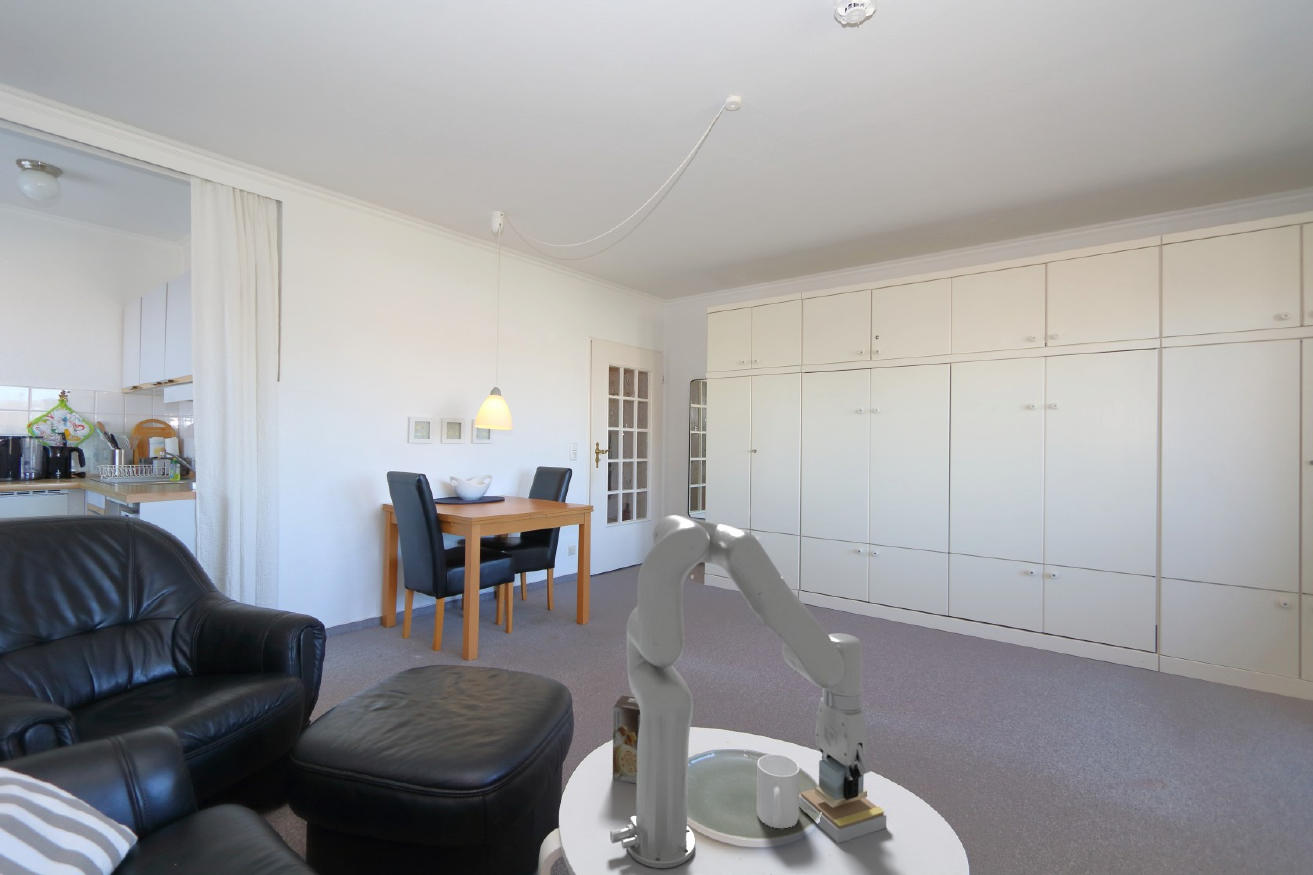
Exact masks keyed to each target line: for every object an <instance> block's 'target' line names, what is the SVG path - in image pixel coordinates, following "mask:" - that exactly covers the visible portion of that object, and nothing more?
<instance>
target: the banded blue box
mask: <svg viewBox="0 0 1313 875" xmlns="http://www.w3.org/2000/svg"><path fill="white" fill-rule="evenodd" d="M850 766H851V771H853V770H854V765H850ZM818 769H819V770H818V786H816V787H814V789H815V794H816V795H817V796H819V797H820V798H821V799H822V800H823V801H825V802H826V803H827V804H828V805H830V806H831V807H832V808H833V807H836V806H839V805H843V804H846V803H849V802H852V801H856V800H859V799H862V798H867V797H868V790H867V789H865V788H864V784H865V783H864V782H865V781H864V780H865V779H864V776H865V774H864V775H863V776H861V778H859V788H858V797H855V798H852V799H848V800H846V799H845V798H844V778H846V771H845V765H843V764H841V763H840V762H838V761H837V760H836V759H834V758H833V757H830V758H827V759H823V760H822V759H819V761H818Z"/></svg>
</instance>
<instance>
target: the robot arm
mask: <svg viewBox="0 0 1313 875" xmlns="http://www.w3.org/2000/svg"><path fill="white" fill-rule="evenodd" d="M652 533H653V534H652V539H653V543H654V545H653V546H652V548H651V549H650V550H649V552H648V553H647V555H646V556H645V558H644V560H643V561H642V564H641V566H640V568H639V573H638V578H637V603H636V604H637V605H636V607H635V608H633V610H632V611H631V613H630V614H629V617H628V619H627V624H626V630H625V632H626V656H627V657H626V659H627V675H628V676H627V677H628V684H629V689H630V691H631V693H632V695H633V697H635V699H636V702H637V704H638V706H639V709H640V727H639V733H638V742H637V783H636V789H635V790H636V798H635V815H633V816H631V817H630V824H626V825H625V827H623V828H617V829H613V830H610V832H609V838H610V842H611V844H616V843H619V842H621V847H622V848H621V849H622V850H625V849H627V850H628V853H629V854H630V856H631V857H632V858H633V859H634V860H636V861H637V862H638V863H640V864H641V865H645V866H647V867H650V868H654V869H667V868H668V869H669V868H674V867H676V866H680V865H682V864H684V863H686V862H687V861H688V860H689V859H690V858H691V857H692V856H693V854H694V852H695V849H696V838H695V834H694V832H693V830H692V829H690V827H689V826H688V801H689V800H688V792H689V791H688V790H689V785H688V784H689V742H690V740H689V739H690V730H691V725H692V724H691V723H692V718H693V712H694V702H693V697H692V693H691V690H690V688H689V686H688V684H687V683H686V681H685V680H684V678H683V677H682V676H681V674H680V673H679V671H678V670H676V668H675V666H674V664H676V663H677V662H679V660H680V659H681V658H682V655H683V653H684V650H685V644H686V637H685V636H686V635H685V624H684V622H685V621H684V619H685V618H684V603H683V602H684V585H685V581H686V579H687V577H688V575H689V574H690V572H691V571H692V570H693V569H694V568H695V567H696V566H697V565H699V564H700V563H705V564H712V565H716V566H719V567H721V568H723V569H724V570H725V572H726V573H727V575H728V577H729V578H730V579H731V581H732V582H733V584H734V585H735V587H736V588H737V589H738V590H739V592H740V595H741V596H742V597H743V598H744V600H745V601H746V604H748V606H749V608H750V609H751V610H752V611H753V613H754V614H755V615H756V616H757V618H758V619H759V620H760V621H761V622H762V623H763V624H764V625H766V626H767V627H768V628H769V629H770V630H771V631H772V632H773V633H774V634H775V635H777V636H778V637H779V638H780V639H781V640H782V642H783V644H782V648H781V652H782V657H783V658H784V661H785V662H786V664H787V665H789V667H790V668H792V669H793V670H794V671H795V672H797V673H798V674H799V675H801V676H802V677H804V678H805V679H806V680H808V681H809V682H810V683H812V684H813V685H814V686H816V687H818V688H821V689H822V697H820V700H819V703H818V707H817V716H816V725H815V726H816V727H815V734H814V737H815V743H816V745H817V746H818V748H819V751H820V753H821V760H823V759H827V758H830V757H833V758H834V759H836V760H837V761H838V762H840V763H841V764H843V765H845V771H846V778H844V798H845V799H846V800H848V799H852V798H855V797H858V788H859V778H861V776H863V775H864V776H865V775H866V774H868V773H870V772H871V771H872V770H871V767H870V765H869V762H868V760H867V759H868V758H867V757H866V754H867V738H866V736H867V733H866V725H865V723H866V722H865V715H864V711H863V710H862V704H863V702H862V701H863V692H862V690H863V645H862V641H861V640H860V639H859V638H858V637H856V636H854V635H852V634H848V633H841V632H837V633H836V632H835V633H830V634H828V632H827V631H826V630H825V628H824V627H823V626H822V625H821V623H820V621H818V620H817V618H816V617H815V616H814V615H813V614H812V613H811V612H810V610H809V609H808V608H807V607H806V606H805V605H804V603H803V602H802V600H801V599H800V598H799V597H798V596H797V595H796V594H795V593H794V591H792V589H791V588H790V586H789V585H788V584H787V583H786V581H785V579H784V578H783V576H782V575H781V573H780V572H779V570H778V568H777V567H776V565H775V564H774V563H773V561H772V559H771V558H770V556H769V555H768V553H767V552H766V551H765V549H764V547H763V546H762V544H761V543H760V542H759V540H758V539H757V537H755V536H754V535H753V534H752V533H751V532H749V531H747V530H744V529H741V528H738V527H734V526H732V525H726V524H722V523H721V524H720V523H714V522H710V521H705V520H701V519H696V518H691V517H687V516H682V515H676V514H673V515H671V514H670V515H667V516H665V517H662V518H661V519H660V520H659V521H658V522H657V523H656V524H655V527H654V529H653V532H652ZM850 765H854V770H853V771H851V766H850Z"/></svg>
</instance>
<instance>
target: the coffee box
mask: <svg viewBox="0 0 1313 875" xmlns="http://www.w3.org/2000/svg"><path fill="white" fill-rule="evenodd" d="M612 710H613V711H612V713H613V714H612V715H613V716H612V717H613V718H612V723H613V724H612V779H613V780H616V781H622V782H628V783H633V784H637V742H638V733H639V727H640V709H639V706H638V704H637V702H636V699H635V697H634V696H627V695H622V696H620V698H618V700H617V701H616V703H615V704H614V706H613V709H612Z"/></svg>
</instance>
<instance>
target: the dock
mask: <svg viewBox="0 0 1313 875" xmlns="http://www.w3.org/2000/svg"><path fill="white" fill-rule="evenodd" d="M799 803H800V805H802V806H803V807H804V808H806V809H807V810H810V811H811V812H814V813H820V812H822V814H821V817H820V822H819V823H818V825H817V826H819V828H820V829H822V830H823V831H824V832H825V833H826V834H827V835H828V836H829V837H830V838H831V839H833V841H835V842H836V843H837V844H840V843H843V842H848V841H850V840H852V839H853V840H854V839H856V838H858V837H859V838H860V837H863V836H865V835H869V834H871V833H875V832H878V831H881V830H883V829H887V814H885V810H884V809H882V808H881V807H879V806H877V805H876V804H874V803H872V802H871V801H870V800H869V799H868V798H867V797H865V798H862V799H859V800H856V801H852V802H849V803H846V804H843V805H839V806H836V807H833V808H832V807H831V806H830V805H828V804H827V803H826V802H825V801H823V800H822V799H821V798H820V797H819V796H817V795H816V794H815V788H813V789H809V790H805V791H802V792H800V793H799Z"/></svg>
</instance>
